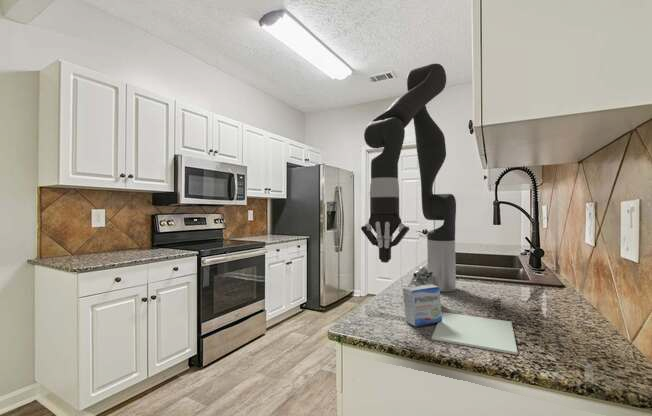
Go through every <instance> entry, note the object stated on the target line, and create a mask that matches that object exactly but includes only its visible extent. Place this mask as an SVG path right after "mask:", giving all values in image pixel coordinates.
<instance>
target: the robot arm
mask: <svg viewBox="0 0 652 416" xmlns="http://www.w3.org/2000/svg"><path fill="white" fill-rule="evenodd" d="M406 77H407V78H406V88H407V92H405V93H404V94H402V95H400V96H399V97H398V98H396V100H394V102H393V103H392V104H391V105H390V106H389V107H388V109H386V110H385V111H384V112H382V113H381V114H379V115H378V116H376V117H375V118H373V120H371V121H370V122H369V123H368V124H367V126H366V127H365V129H364V132H363V133H364V135H363V137H364V138H363V139H364V142H365V144H366V145H367V146H368V147H369V148H372V149H382V148H383V150H382V152H381V153H380V154H378V155H376V156H374V157H373V158H372V159H371V162H370V184H369V208H370V209H369V211H370V216H369V219H368V222H367V223H366V224H364V225H362V226H361V229H360V230H361V231H362V232H363V234H364V236H366V238H367V239H368V241H369V242H370V244H371V245H372V246H375V247H377V248H378V259H379V260H380V261H381V263H383V264H384V263H385V264H387V263H389V262H390V261H391V259H392V247H396V246H397V245H399V243H400V242H401V241H402V240H403V238H404V237H405V236H406V234H407V233H408V232H409V231H410V227H409V226H406V225H405V224H404V223H402V218H401V216H400V184H399V162H400V161H399V160H400V156H401V153H402V148H403V145H404V141H405V135H406V134H405V133H406V131H405V128H407V126H408V125H409V124H410V123H411V122H412V120H413V126H414V135H415V136H414V137H415V145H416V146H415V147H416V153H417V162H418V168H419V175H420V187H421V189H420V190H421V191H420V194H421V208H422V209H421V210H422V214H423V218H425V220H428V221H443V224H441V225H440V226H439V227H438V228H437V227H436V228H434V229H430V230H429V231H428V232H427V234H426V238H427V239H426V246H427V247H426V248H427V249H426V252H427V253H426V254H427V255H426V257H427V258H426V259H427V271H428V272H433V273H434V274H435V275H436V276H437V277H438V280H439V284H438V287H439V288H440V293H441V292H442V293H443V292H444V293H446V292H447V293H448V292H451V293H452V292H454V291H456V290H457V287H456V285H457V284H456V283H457V280H456V279H457V278H456V275H457V274H456V272H457V271H456V219H457V218H456V216H457V200H456V197H455V196H454V194H452V193H437V194H436V193H434V192H433V191H434V189H433V187H434V182H435V180H436V177H437V175H439V174H438V173H439V171H440V170H441V168H442V167H443V164H444V163H445V160H446V157H447V147H446V138H445V135H444V132H443V131H442V129H441V128H440V126H439V125H438V124H437V123H436V122H435V121H434V119H433V118H432V117H431V115H430V113H429V112H428V109H427V106H426V105H428V103H430V102H431V101H432V100H433V99H434V98H436V97H437V96H438V95H439V94H441V93H442V92H443V91H444V89H445V87H446V85H447V73H446V70H445V68H444V66H443V65H442V64H440V63H431V64H427V65H424V66H420V67H417V68H414V69H411V70H410V71H409V72H408V74H407V76H406ZM397 230H398V234H397V235H396V236H395V238H394V239H393V235H394V233H396V231H397ZM373 231H374V232H375V234H376V236H375V234H374V233H373Z"/></svg>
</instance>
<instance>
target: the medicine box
mask: <svg viewBox="0 0 652 416" xmlns="http://www.w3.org/2000/svg"><path fill="white" fill-rule="evenodd" d="M402 292H403V293H402V294H403V305H404V306H403V307H404V316H405V317H404V318H405V320H404V321H405V322H406V323H408V324H410V325H412V326H413V327H421V326H425V325H426V326H427V325H431V324H436V323H437V324H438V322H441V321H442V301H441V291H440V288H439V287H438V286H435V285H431V284H428V285H421V286H414V287H402Z"/></svg>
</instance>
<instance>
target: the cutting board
mask: <svg viewBox="0 0 652 416" xmlns="http://www.w3.org/2000/svg"><path fill="white" fill-rule="evenodd" d="M441 313H442V321H441V322H437V324H436V326H435V329H434V330H433V333H432V336H431V340H432V341H437V342H443V343H444V342H445V343H448V344H453V345H454V344H455V345H459V346H466V347H472V348H477V349H481V350H482V349H483V350H488V351H492V352H493V351H494V352H500V353H505V354H510V355H516V356H517V355H519V354H518V348H517V343H516V337H515V333H514V329H513V323H512V321H510V320H509V321H508V320H503V319H502V320H501V319H497V318H496V319H495V318H488V317H479V316H473V315H467V314H465V315H464V314H460V313H459V314H457V313H449V312H444V311H443V312H442V311H441Z"/></svg>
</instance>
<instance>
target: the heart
mask: <svg viewBox="0 0 652 416" xmlns="http://www.w3.org/2000/svg"><path fill="white" fill-rule="evenodd" d="M428 284H431V285H435V286H438V284H439V280H438V277H437V276H436V275H435V274H434V273H433V272H428V268H426V267H425V266H419V269H418V270H415V271H414V272H413V275H412V277H411V279H410V282H409V283H408V285H407V287H414V286H421V285H428ZM407 287H406V288H407Z"/></svg>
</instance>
